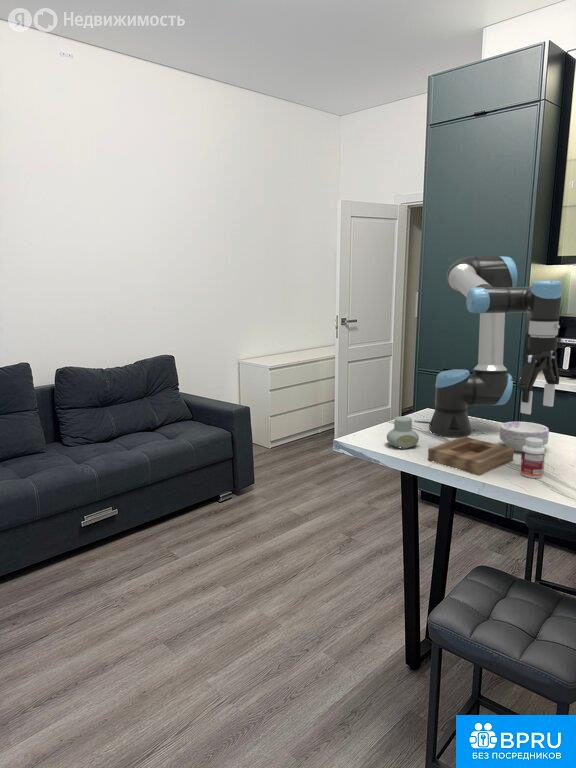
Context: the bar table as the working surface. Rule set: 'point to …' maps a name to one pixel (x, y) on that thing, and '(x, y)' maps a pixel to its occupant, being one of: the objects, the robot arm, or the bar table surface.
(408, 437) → the air freshener
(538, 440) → the pill bottle
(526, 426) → the paper bowls
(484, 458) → the walnut holder
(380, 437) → the bar table surface
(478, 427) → the bar table surface
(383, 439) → the bar table surface
